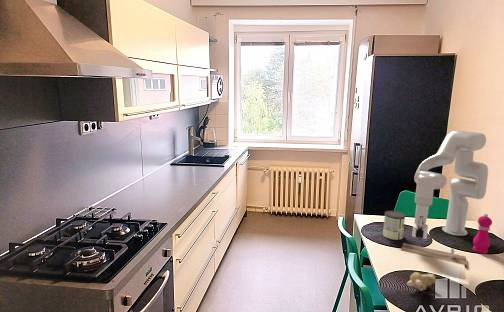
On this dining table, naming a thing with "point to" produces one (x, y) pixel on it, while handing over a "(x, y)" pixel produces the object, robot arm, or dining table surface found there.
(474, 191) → the robot arm
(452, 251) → the shaft
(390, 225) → the coffee can
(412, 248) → the grey brown bent bar
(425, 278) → the beige lumpy piece
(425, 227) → the white block
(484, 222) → the pepper mill
